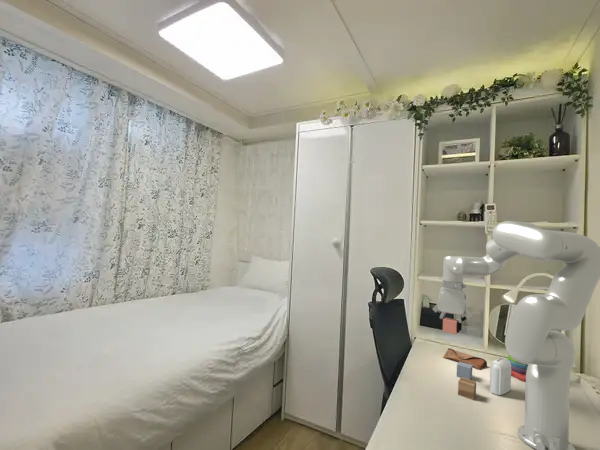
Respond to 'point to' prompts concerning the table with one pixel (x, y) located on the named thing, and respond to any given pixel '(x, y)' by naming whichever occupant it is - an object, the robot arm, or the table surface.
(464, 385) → the tan block
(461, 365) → the slate block
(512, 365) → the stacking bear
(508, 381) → the photo printer
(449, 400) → the table surface
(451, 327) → the pink cube
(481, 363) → the sunglasses case
